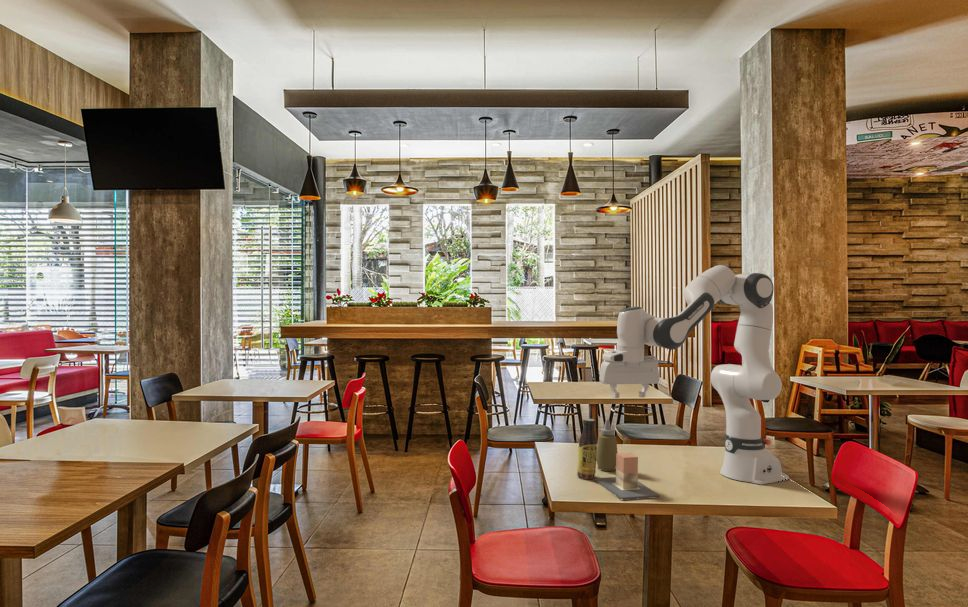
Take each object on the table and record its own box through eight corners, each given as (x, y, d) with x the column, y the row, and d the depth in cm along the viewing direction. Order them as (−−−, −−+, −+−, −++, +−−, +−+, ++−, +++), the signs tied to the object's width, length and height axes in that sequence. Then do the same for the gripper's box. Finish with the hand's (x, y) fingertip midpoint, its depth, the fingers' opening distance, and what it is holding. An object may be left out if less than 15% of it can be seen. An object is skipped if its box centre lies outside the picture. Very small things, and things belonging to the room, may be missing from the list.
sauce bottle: (582, 480, 177) (583, 421, 177) (573, 474, 183) (575, 417, 183) (599, 479, 179) (600, 421, 179) (590, 473, 185) (592, 417, 185)
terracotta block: (629, 467, 173) (630, 452, 173) (637, 472, 168) (637, 457, 168) (615, 468, 172) (616, 453, 172) (623, 473, 167) (623, 457, 167)
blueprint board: (630, 478, 180) (630, 475, 180) (659, 497, 163) (659, 494, 163) (595, 480, 177) (595, 477, 177) (621, 500, 160) (621, 497, 160)
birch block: (629, 482, 173) (629, 467, 173) (637, 488, 168) (637, 472, 168) (615, 483, 172) (616, 468, 172) (623, 489, 167) (623, 473, 167)
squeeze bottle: (619, 467, 192) (621, 418, 192) (615, 473, 185) (616, 423, 185) (597, 464, 195) (599, 416, 195) (592, 470, 188) (594, 420, 188)
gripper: (653, 354, 179) (652, 395, 179) (597, 354, 174) (596, 396, 174) (663, 356, 173) (662, 398, 173) (606, 356, 168) (605, 399, 168)
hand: (629, 397), depth 173 cm, fingers open, 8 cm apart
